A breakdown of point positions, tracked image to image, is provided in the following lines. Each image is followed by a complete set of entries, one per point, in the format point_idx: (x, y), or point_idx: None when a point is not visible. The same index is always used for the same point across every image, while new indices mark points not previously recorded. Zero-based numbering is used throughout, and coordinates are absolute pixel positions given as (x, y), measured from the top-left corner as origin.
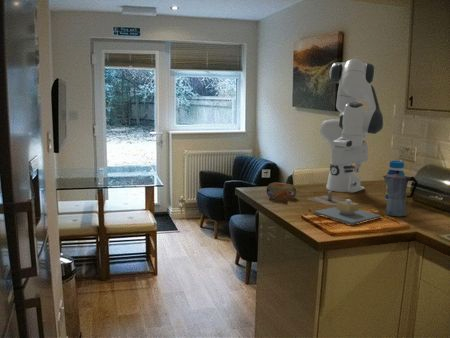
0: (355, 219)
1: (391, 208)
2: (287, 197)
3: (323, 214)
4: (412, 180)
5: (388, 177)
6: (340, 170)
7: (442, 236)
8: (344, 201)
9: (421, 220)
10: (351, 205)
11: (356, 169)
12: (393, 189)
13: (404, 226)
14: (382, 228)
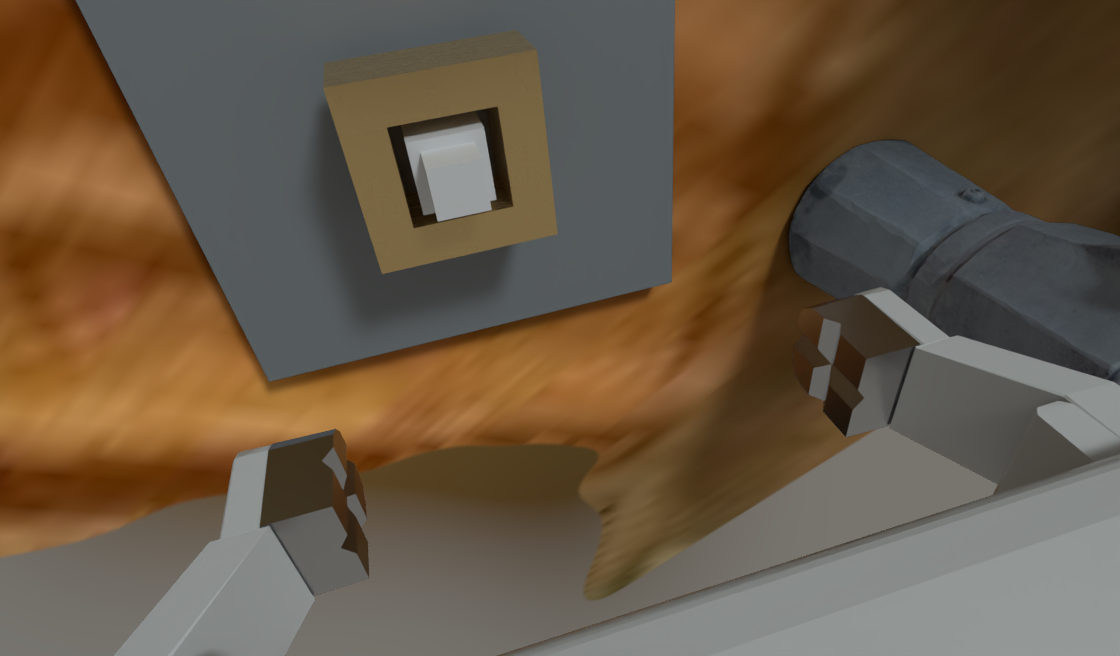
0: (365, 322)
1: (830, 263)
2: None
3: (100, 45)
4: None
5: None
6: (232, 550)
7: (652, 561)
8: (472, 79)
9: None
10: (421, 263)
11: (834, 413)
12: None
13: (640, 429)
14: (472, 438)
